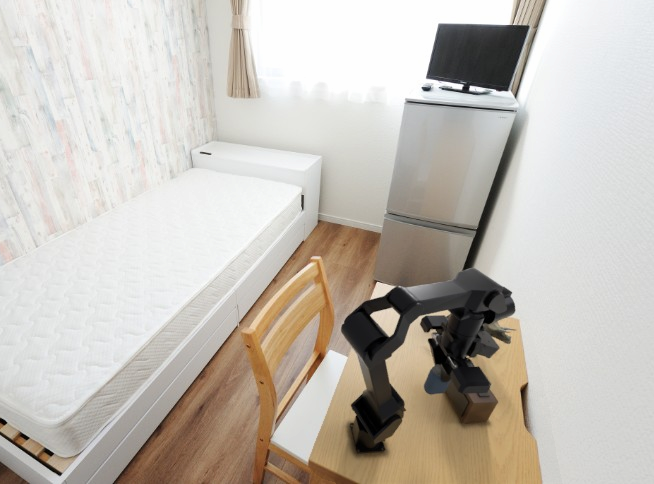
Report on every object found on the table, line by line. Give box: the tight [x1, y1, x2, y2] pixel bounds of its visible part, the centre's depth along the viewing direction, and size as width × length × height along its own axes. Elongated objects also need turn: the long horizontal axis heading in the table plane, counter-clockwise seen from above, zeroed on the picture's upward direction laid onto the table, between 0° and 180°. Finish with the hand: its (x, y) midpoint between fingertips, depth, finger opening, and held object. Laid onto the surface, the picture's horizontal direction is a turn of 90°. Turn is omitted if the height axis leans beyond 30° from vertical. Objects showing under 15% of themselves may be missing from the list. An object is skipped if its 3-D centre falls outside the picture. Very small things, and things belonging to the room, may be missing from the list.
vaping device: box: [423, 357, 451, 396], centre depth 77 cm, size 3×5×12 cm, turn 99°
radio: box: [444, 380, 499, 424], centre depth 84 cm, size 6×10×9 cm, turn 4°
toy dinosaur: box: [445, 313, 517, 345], centre depth 103 cm, size 22×8×11 cm, turn 62°
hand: (441, 376), depth 78 cm, fingers closed on vaping device, 2 cm apart
